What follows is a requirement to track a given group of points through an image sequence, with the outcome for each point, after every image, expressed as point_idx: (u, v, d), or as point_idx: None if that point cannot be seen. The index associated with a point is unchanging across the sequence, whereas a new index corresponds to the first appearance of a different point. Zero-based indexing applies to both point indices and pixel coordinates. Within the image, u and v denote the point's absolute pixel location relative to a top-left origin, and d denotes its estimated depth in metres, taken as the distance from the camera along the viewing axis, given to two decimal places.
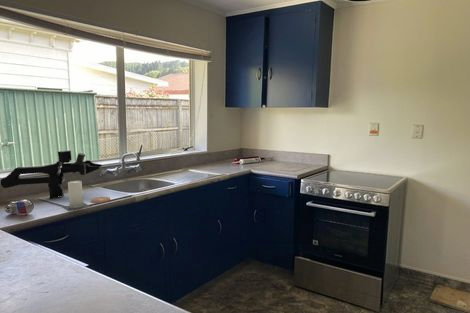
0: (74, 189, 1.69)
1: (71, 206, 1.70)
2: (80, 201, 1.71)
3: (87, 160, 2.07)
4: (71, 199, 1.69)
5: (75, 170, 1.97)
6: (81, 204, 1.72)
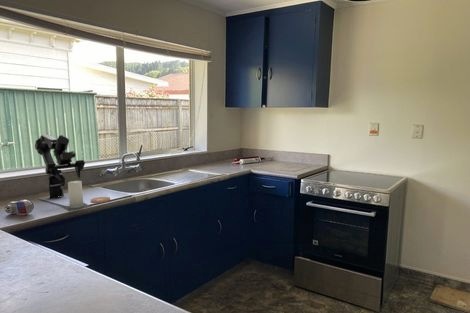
0: (74, 189, 1.69)
1: (71, 206, 1.70)
2: (80, 201, 1.71)
3: (80, 161, 1.84)
4: (71, 199, 1.69)
5: (57, 161, 1.82)
6: (81, 204, 1.72)
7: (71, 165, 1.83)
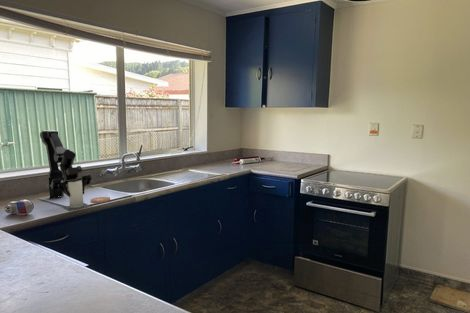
0: (74, 189, 1.69)
1: (71, 206, 1.70)
2: (80, 201, 1.71)
3: (87, 176, 1.78)
4: (71, 199, 1.69)
5: (63, 176, 1.76)
6: (81, 204, 1.72)
7: (77, 180, 1.77)
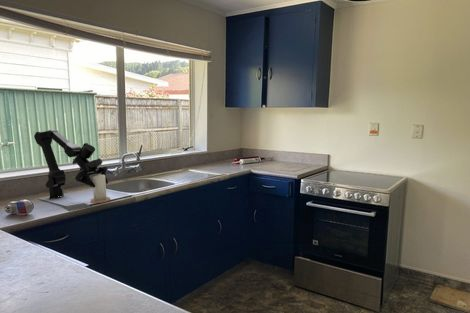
0: (101, 182, 1.81)
1: (97, 198, 1.82)
2: (105, 193, 1.84)
3: (104, 168, 1.90)
4: (98, 191, 1.81)
5: (82, 169, 1.84)
6: (105, 196, 1.85)
7: (96, 172, 1.87)
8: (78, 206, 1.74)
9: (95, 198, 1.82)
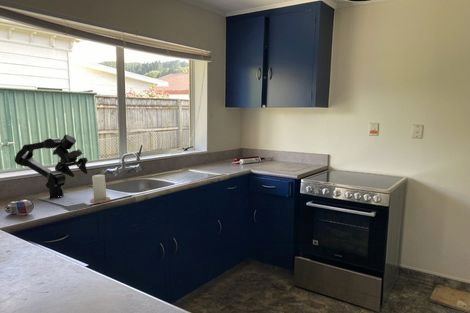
0: (100, 182, 1.81)
1: (97, 198, 1.82)
2: (105, 193, 1.84)
3: (84, 159, 1.97)
4: (98, 191, 1.81)
5: (62, 159, 1.90)
6: (105, 196, 1.85)
7: (76, 162, 1.94)
8: (78, 206, 1.74)
9: (95, 198, 1.82)
